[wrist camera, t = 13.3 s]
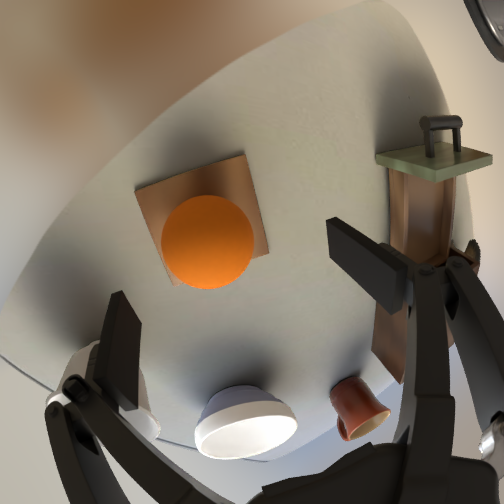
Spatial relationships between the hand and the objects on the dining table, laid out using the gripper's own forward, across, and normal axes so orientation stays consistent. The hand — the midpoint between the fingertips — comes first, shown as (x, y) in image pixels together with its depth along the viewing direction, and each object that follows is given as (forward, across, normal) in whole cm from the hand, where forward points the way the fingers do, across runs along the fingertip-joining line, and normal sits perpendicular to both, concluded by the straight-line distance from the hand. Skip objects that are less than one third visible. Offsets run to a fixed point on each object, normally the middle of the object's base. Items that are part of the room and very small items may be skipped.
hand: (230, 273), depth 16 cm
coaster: (+10, 0, 0) cm, 10 cm away
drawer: (+10, +26, -4) cm, 28 cm away
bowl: (+10, -5, -28) cm, 30 cm away
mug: (+10, +13, -40) cm, 43 cm away
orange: (+9, 0, 0) cm, 9 cm away
